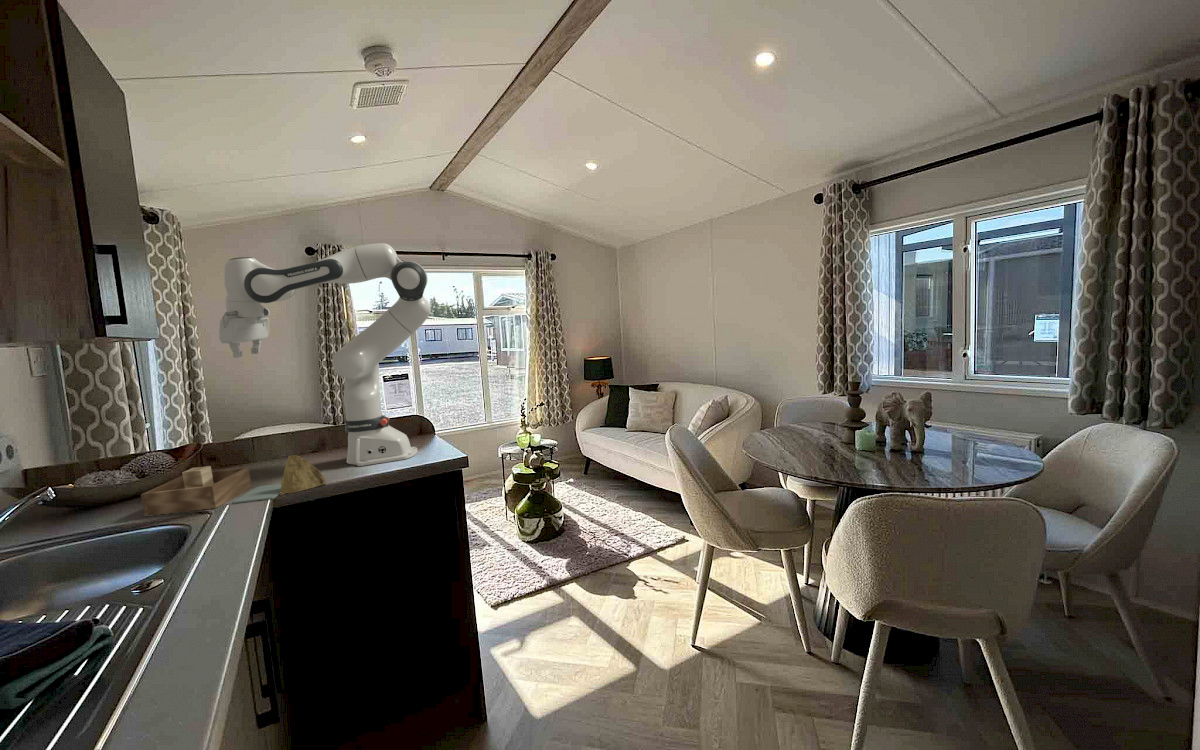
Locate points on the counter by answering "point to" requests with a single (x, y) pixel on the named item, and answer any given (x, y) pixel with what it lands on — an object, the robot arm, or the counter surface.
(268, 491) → the mat
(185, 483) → the block
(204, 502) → the crate
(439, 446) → the counter surface
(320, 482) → the rock
